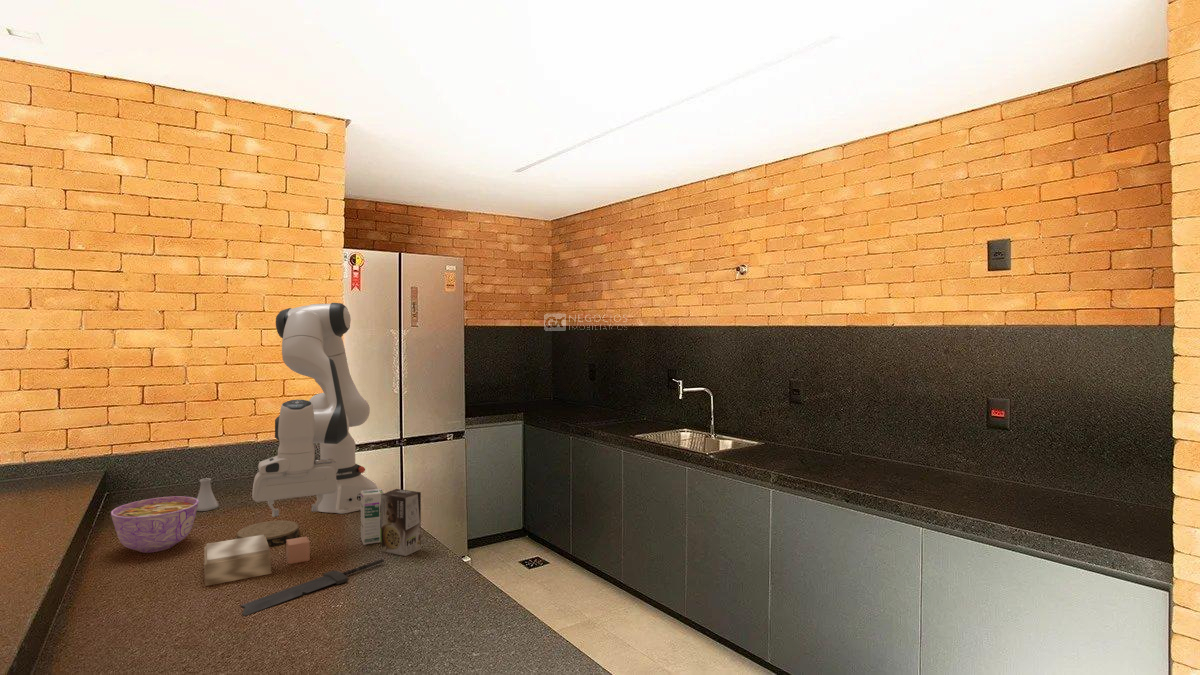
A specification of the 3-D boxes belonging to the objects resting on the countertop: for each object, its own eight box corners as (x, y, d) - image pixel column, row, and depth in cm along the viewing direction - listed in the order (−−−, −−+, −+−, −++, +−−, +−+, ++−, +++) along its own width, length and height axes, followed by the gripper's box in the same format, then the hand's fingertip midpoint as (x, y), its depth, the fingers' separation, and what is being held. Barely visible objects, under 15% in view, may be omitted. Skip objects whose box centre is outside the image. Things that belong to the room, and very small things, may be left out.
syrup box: (362, 545, 175) (362, 494, 175) (360, 539, 180) (360, 489, 180) (384, 542, 178) (384, 492, 177) (381, 536, 183) (381, 487, 183)
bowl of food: (208, 547, 173) (207, 506, 172) (118, 567, 158) (118, 522, 158) (188, 530, 186) (188, 492, 186) (104, 547, 172) (104, 506, 171)
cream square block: (265, 555, 167) (265, 533, 167) (271, 573, 155) (271, 549, 155) (204, 566, 159) (204, 543, 159) (204, 586, 147) (204, 561, 147)
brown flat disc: (301, 542, 178) (301, 532, 178) (237, 552, 169) (237, 542, 169) (296, 527, 191) (296, 517, 191) (236, 535, 183) (236, 525, 183)
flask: (205, 512, 204) (205, 482, 204) (187, 511, 205) (187, 481, 205) (223, 506, 211) (223, 477, 211) (205, 505, 212) (205, 476, 212)
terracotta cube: (306, 554, 168) (306, 536, 168) (309, 560, 164) (309, 541, 164) (286, 558, 165) (286, 539, 165) (288, 564, 161) (288, 545, 161)
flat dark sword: (231, 611, 137) (231, 602, 137) (375, 560, 164) (375, 553, 164) (245, 621, 132) (245, 612, 132) (391, 567, 159) (390, 559, 159)
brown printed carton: (421, 549, 173) (422, 491, 172) (405, 556, 167) (405, 497, 167) (396, 544, 177) (397, 487, 176) (380, 551, 171) (380, 493, 170)
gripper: (336, 456, 172) (335, 505, 172) (252, 463, 161) (251, 516, 161) (340, 460, 167) (339, 511, 167) (253, 467, 156) (252, 522, 156)
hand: (295, 513), depth 164 cm, fingers open, 8 cm apart
